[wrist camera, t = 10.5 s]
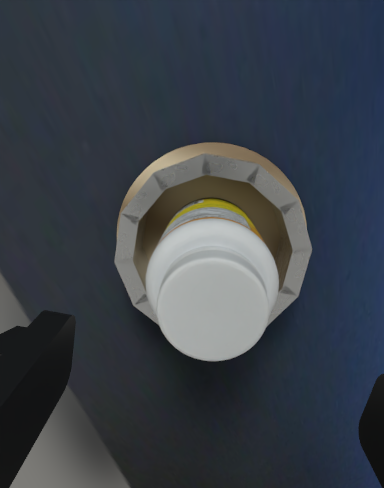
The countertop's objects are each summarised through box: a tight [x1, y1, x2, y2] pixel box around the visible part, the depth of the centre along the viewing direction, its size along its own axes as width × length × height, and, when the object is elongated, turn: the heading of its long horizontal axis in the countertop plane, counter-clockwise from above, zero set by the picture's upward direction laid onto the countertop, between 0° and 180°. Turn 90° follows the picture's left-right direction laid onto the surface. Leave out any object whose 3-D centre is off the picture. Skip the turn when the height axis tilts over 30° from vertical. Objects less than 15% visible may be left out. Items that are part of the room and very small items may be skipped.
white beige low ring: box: [115, 153, 312, 327], centre depth 20 cm, size 10×10×3 cm
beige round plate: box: [117, 143, 307, 261], centre depth 22 cm, size 12×12×1 cm
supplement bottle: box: [146, 197, 279, 361], centre depth 17 cm, size 6×6×10 cm
